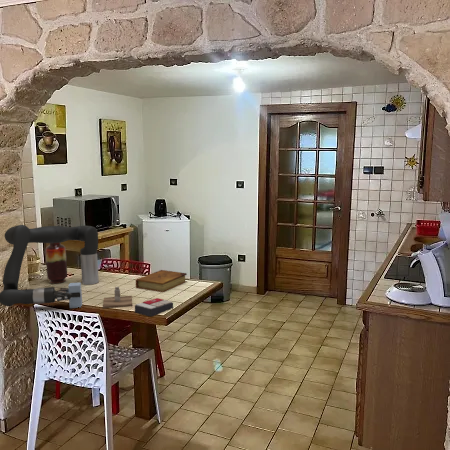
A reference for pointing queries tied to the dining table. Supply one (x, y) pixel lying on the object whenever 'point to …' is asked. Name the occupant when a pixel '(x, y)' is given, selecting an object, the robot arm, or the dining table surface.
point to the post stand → (117, 300)
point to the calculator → (153, 307)
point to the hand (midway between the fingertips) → (80, 292)
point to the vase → (56, 263)
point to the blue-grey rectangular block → (75, 301)
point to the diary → (161, 281)
